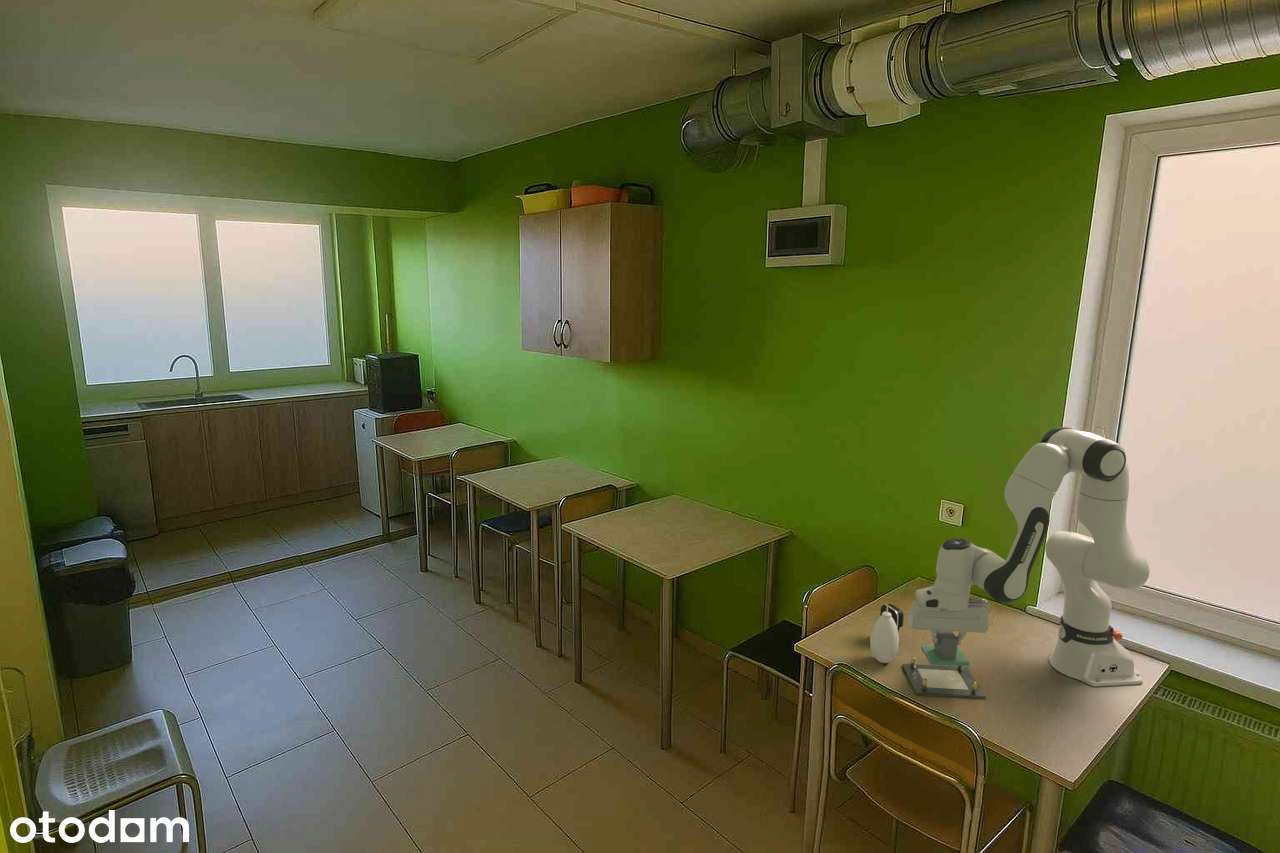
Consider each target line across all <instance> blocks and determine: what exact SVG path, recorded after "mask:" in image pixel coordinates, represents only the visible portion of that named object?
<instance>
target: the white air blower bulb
mask: <svg viewBox="0 0 1280 853" xmlns="http://www.w3.org/2000/svg"><path fill="white" fill-rule="evenodd" d="M891 616H892V615H891V613H889V612H888V605H887V609H886V612H883V613H882V615H881V616H880V615H879V617H878V618H877V620H876V621H875V622H874V625H873V627H872V629H871V633H870V641H869V645H870V651H871V653H872V656H873V657H874V659H876V660H877V661H878V662H879V663H882V664H887V663H889V662H892V661H893V659H894V658H895V657H896V656H897V653H898V650H899V646H900V645H899V644H900V637H899V636H900V635H899V632H898V630H897V626H896V624H895V621H894V619H893V618H892V617H891Z"/></svg>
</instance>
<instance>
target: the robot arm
mask: <svg viewBox="0 0 1280 853" xmlns="http://www.w3.org/2000/svg"><path fill="white" fill-rule="evenodd" d="M1071 472H1072V473H1076V474H1079V475H1081V479H1080V484H1079V490H1078V499H1077V507H1076V517H1077V521H1078V522H1079V523H1080V524H1081V525H1082V526H1083V527H1084V528H1085V529H1086V530H1087V531H1088V532H1089V533H1090V535H1091V536H1087V535H1084V534H1081V533H1079V532H1073V531H1066V530H1065V531H1064V530H1057V531H1055V532H1053V533H1052V534H1051V535H1050V536H1049V537H1048V539H1047V541H1046V543H1045V547H1044V550H1045V556H1046V558H1047V559H1048V561H1049V562H1050V563H1051V564H1052V565H1053V567H1054V568H1055V569H1056V572H1057V573H1058V575H1059V577H1060V580H1061V582H1062V585H1063V589H1064V590H1063V591H1064V602H1063V612H1062V615H1061V617H1060V620H1059V625H1058V634H1057V635H1058V638H1057V642H1056V644H1055V647H1054V649H1053V652H1052V653H1051V655H1050V657H1049V660H1048V661H1049V663H1050V665H1051V666H1052V667H1053V668H1054V669H1055V670H1057V671H1058V672H1060V673H1061V674H1063V675H1065V676H1067V677H1069V678H1072V679H1075V680H1078V681H1082V682H1083V683H1084V684H1087V685H1089V686H1092V687H1095V688H1096V687H1097V688H1098V687H1108V686H1109V687H1111V686H1112V687H1113V686H1128V685H1142V684H1143V683H1144V682H1143V680H1144V679H1143V676H1142V673H1141V672H1140V671H1139V670H1138V669H1137V668H1136V667H1135V663H1134V659H1133V656H1132V655H1131V653H1130V652H1129V651H1128V650H1127V649H1126V648H1125V647H1124V646H1123V645H1122V644H1121V643H1120V642H1119V641H1120V640H1122V639H1123V637H1124V636H1123V634H1122V633H1121V632H1120V631H1119V630H1116V629H1114V627H1112V625H1110V620H1111V612H1112V609H1113V606H1112V602H1111V599H1110V597H1109V595H1108V594H1107V593H1105V591H1104V590H1102V588H1101V587H1100V585H1099V584H1098V583H1101V584H1104V585H1106V586H1109V587H1112V588H1116V589H1122V590H1126V591H1136V590H1138V589H1140V588H1141V587H1142V586H1144V585H1145V584H1146V583H1147V581H1148V579H1149V576H1150V567H1149V563H1148V561H1147V559H1146V558H1145V557H1144V556H1143V555H1142V553H1140V552H1139V551H1138V549H1137V548H1136V546H1135V545H1134V543H1133V541H1132V539H1131V537H1130V535H1129V533H1128V532H1129V531H1128V528H1127V508H1128V500H1129V490H1130V474H1129V473H1130V472H1129V465H1128V462H1127V455H1126V452H1125V450H1124V448H1123V447H1122V446H1121V445H1120V444H1119V443H1117V442H1115V441H1114V440H1113V439H1109V438H1104V437H1102V436H1101V435H1098V434H1095V433H1092V432H1090V431H1082V430H1079V429H1078V430H1077V429H1074V428H1072V427H1067V426H1066V427H1065V426H1057V427H1053V428H1051V429H1050V430H1049V431H1047V432H1046V433H1045V434H1044V436H1042V438H1041V440H1040V441H1039V443H1038V442H1037V443H1036V444H1034V445H1033V446H1031V447H1030V448H1029V450H1028V451H1027V452H1026V453H1025V454H1024V455H1023V457H1022V458H1021V459H1020V461H1019V463H1018V464H1017V465H1016V467H1015V469H1014V470H1013V473H1012V474H1011V475H1010V477H1009V479H1008V480H1007V482H1006V485H1005V488H1004V491H1003V494H1004V495H1003V496H1004V500H1005V503H1006V505H1007V506H1008V508H1009V510H1010V511H1011V513H1012V514H1013V516H1014V519H1015V520H1016V524H1017V533H1016V535H1015V538H1014V541H1013V543H1012V545H1011V548H1010V551H1009V553H1008V555H1007V558H1006V559H1004V558H1003V557H1001V556H1000V555H998V554H997V553H995V552H994V551H992V550H990V549H988V548H985V547H980V546H977V545H975V543H972V542H971V541H970V540H969V539H965V538H960V537H959V538H958V537H954V538H949V539H946V540H945V541H944V542H942V544H941V546H940V548H939V550H938V553H937V559H936V566H935V572H936V579H935V581H934V585H930V586H928V587H923V588H920V589H916V590H915V592H914V596H915V599H914V600H913V601H912V603H911V605H910V608H909V614H908V623H909V625H910V627H912V629H913V630H922V631H925V630H926V631H929V633H930V634H931V636H932V637H931V642H932V645H935V644H939V642H940V639H939V637H938V636H936V632H937V630H938V631H952V632H958V633H957V635H955V636H956V637H957V639H958V644H957V646H958V647H960V646H961V641H962V640H963V639H964V638H965V637H966V636H967V633H978V634H979V633H980V634H985V633H987V632H988V631H989V628H990V621H989V620H990V618H989V614H990V611H991V608H992V607H991V603H990V602H989V601H988V600H986V599H985V598H975V597H971V598H970V596H971V588H972V586H978V587H979V588H980V589H982V590H983V591H985V593H986V594H987V595H989V597H991V599H993V600H994V601H995V602H997V603H999V604H1000V603H1001V604H1008V603H1009V604H1010V603H1013V602H1016V601H1018V600H1019V599H1021V598H1022V597H1023V596H1024V595H1025V593H1026V592H1027V589H1028V586H1029V580H1030V576H1031V572H1032V569H1033V566H1034V564H1035V562H1036V559H1037V557H1038V554H1039V553H1040V549H1041V547H1042V545H1043V543H1044V540H1045V537H1046V534H1047V532H1048V530H1049V526H1050V520H1051V518H1050V515H1049V514H1050V509H1051V505H1052V501H1053V499H1054V496H1055V495H1056V493H1057V491H1058V490H1059V488H1060V486H1061V484H1062V482H1063V480H1064V478H1065V476H1066V475H1067V474H1070V473H1071ZM1097 582H1098V583H1097Z"/></svg>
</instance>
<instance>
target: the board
mask: <svg viewBox="0 0 1280 853" xmlns="http://www.w3.org/2000/svg"><path fill="white" fill-rule="evenodd" d="M935 636H938V637H939V639H940V642H939V644H934V645H921V646H920V647H921V648H920V650H921V651H922V653H923V655H924V656H925V657H926V660H927V661H928V662H929V665H940V666H963V667H969V666H970V662H969V660H968V659H967V657H966V656H965V655H964V653H963V652H962V651H961V649H960V648H959V646H958V645H957V644H958V639H957V637H956V636H957V635H956V634H955V633H954V631H938V630H937V632H936V633H935Z"/></svg>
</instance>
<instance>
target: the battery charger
mask: <svg viewBox="0 0 1280 853" xmlns="http://www.w3.org/2000/svg"><path fill="white" fill-rule="evenodd" d="M887 605H888V612H889V613H891V615H892V616H891V617H892V618H893V619H894V621H895V624H896V626H897V630H898V633H900V632H899V631H900V629H901V628H902V627H904V612H903V611H902V609H900V608H899V607H897V606H896V605H894V604H892V603H887V604H885V603H884V604H883V605H881V608H880V613H879V614H880V615H879V617H880V616H881V615H882V613H883V612H886V609H887Z"/></svg>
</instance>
